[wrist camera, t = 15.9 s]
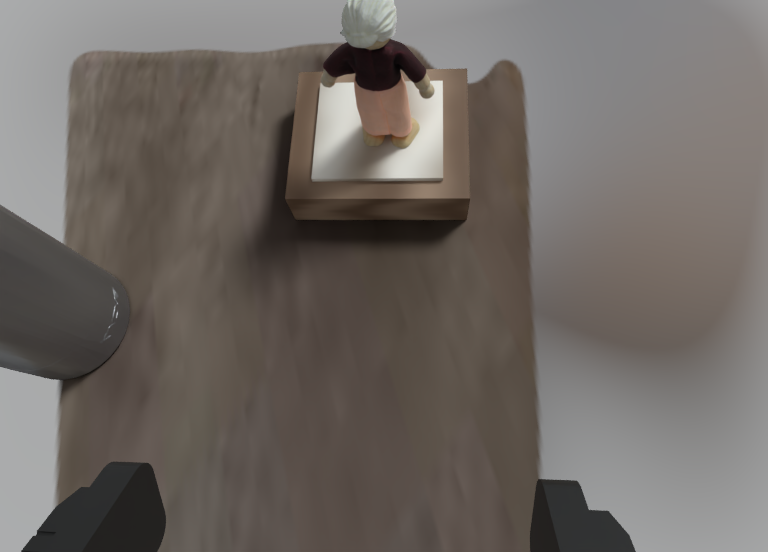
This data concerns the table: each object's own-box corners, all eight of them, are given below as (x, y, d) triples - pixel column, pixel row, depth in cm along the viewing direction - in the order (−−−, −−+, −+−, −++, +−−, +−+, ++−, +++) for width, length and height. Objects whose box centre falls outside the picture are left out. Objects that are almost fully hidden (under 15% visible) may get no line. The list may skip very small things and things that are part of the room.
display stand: (295, 219, 43) (283, 196, 40) (308, 100, 47) (298, 69, 44) (466, 220, 42) (470, 195, 38) (463, 97, 46) (467, 65, 43)
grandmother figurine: (430, 107, 41) (433, -38, 30) (434, 149, 40) (438, 14, 28) (334, 115, 42) (298, -26, 30) (334, 156, 40) (297, 26, 29)
